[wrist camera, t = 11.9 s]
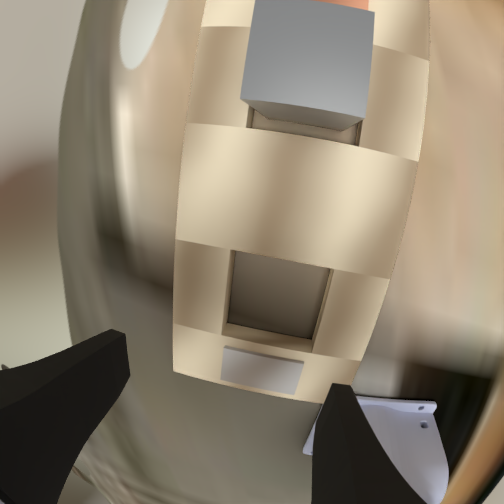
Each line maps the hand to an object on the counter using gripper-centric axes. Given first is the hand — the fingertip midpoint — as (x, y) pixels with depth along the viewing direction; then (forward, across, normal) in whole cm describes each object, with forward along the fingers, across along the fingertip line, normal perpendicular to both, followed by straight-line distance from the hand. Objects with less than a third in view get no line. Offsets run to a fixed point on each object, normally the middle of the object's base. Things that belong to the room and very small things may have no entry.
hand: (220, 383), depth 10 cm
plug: (+10, -1, -11) cm, 14 cm away
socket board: (+9, -1, -5) cm, 11 cm away
